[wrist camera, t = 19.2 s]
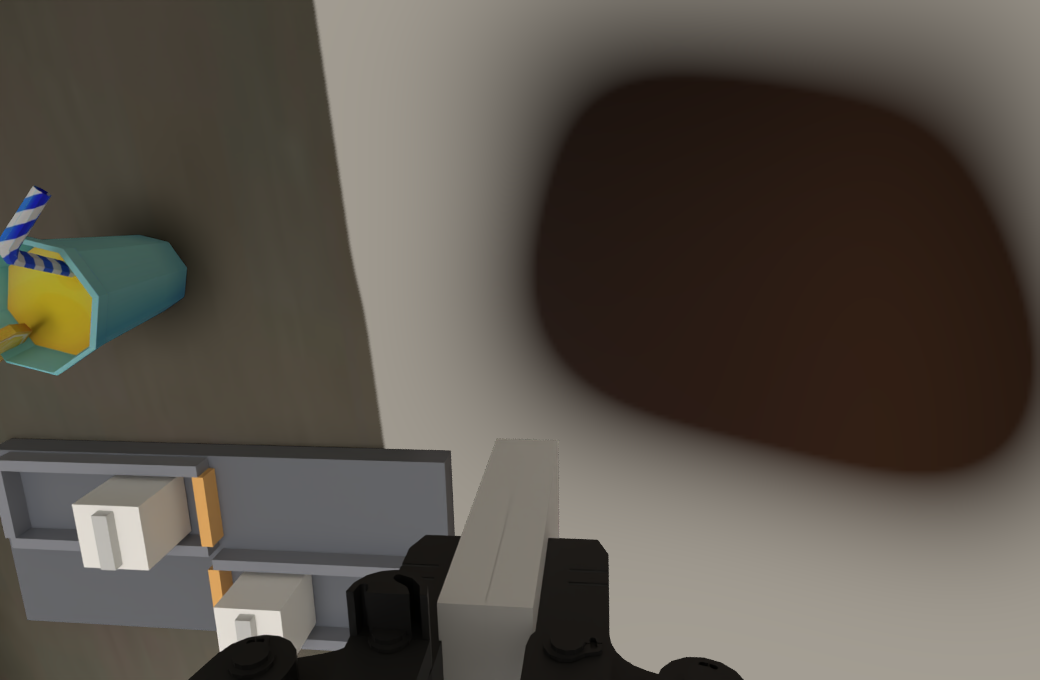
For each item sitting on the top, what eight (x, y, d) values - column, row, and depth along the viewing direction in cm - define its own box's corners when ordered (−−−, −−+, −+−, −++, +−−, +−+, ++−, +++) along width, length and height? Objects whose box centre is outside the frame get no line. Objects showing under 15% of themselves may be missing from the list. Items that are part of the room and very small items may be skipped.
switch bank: (11, 438, 54) (-29, 458, 50) (450, 450, 50) (439, 472, 47) (46, 604, 57) (12, 632, 54) (458, 626, 53) (449, 658, 50)
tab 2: (249, 564, 52) (207, 614, 46) (310, 567, 51) (275, 618, 46) (256, 619, 53) (216, 674, 47) (316, 622, 52) (282, 678, 47)
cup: (153, 140, 47) (-48, 138, 32) (254, 211, 47) (100, 241, 33) (65, 311, 50) (-149, 377, 36) (160, 375, 51) (-15, 466, 36)
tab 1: (122, 470, 51) (63, 509, 45) (182, 472, 50) (131, 512, 45) (132, 528, 52) (76, 573, 46) (191, 530, 51) (142, 576, 46)
